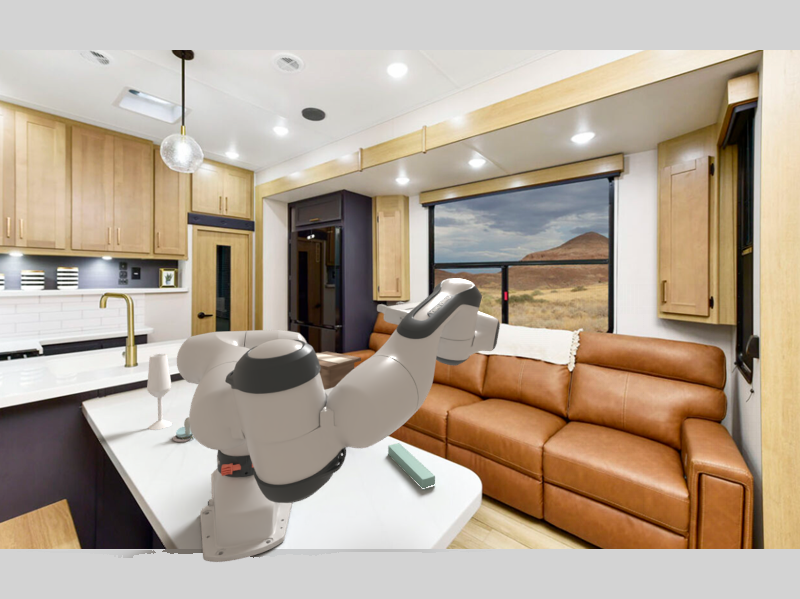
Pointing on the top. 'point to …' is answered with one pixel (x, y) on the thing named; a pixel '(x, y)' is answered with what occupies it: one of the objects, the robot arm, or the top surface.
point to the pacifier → (183, 432)
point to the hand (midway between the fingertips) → (388, 305)
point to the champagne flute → (159, 385)
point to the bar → (411, 465)
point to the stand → (335, 367)
